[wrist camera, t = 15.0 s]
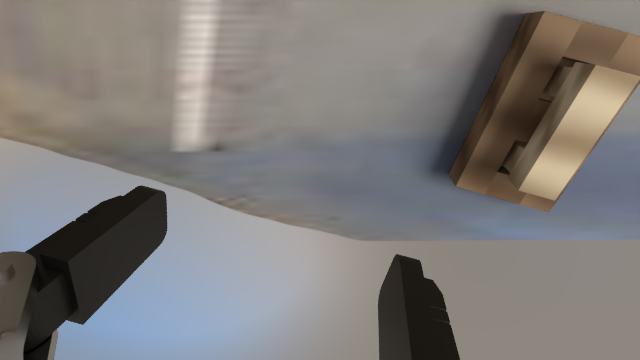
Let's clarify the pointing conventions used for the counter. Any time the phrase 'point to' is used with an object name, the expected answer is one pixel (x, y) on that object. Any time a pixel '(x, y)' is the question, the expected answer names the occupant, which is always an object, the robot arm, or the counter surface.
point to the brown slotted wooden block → (534, 97)
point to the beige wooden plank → (567, 127)
